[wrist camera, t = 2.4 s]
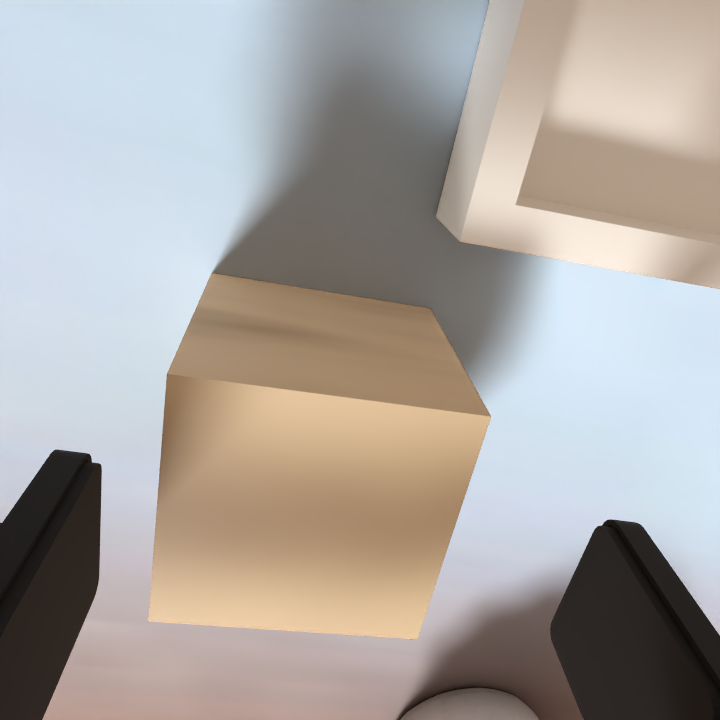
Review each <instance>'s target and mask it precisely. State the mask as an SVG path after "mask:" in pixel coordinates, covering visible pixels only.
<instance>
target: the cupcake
mask: <svg viewBox="0 0 720 720" xmlns="http://www.w3.org/2000/svg"><path fill="white" fill-rule="evenodd" d="M400 720H539V719H538V717H537V716H536V714H535V713H534V712H533V711H532V710H531V709H530V708H529V707H528V706H527V705H526V704H525V703H523V702H522V701H521V700H520V699H518V698H517V697H516V696H514V695H511V694H509V693H506V692H503V691H499V690H494V689H487V688H468V689H459V690H454V691H450V692H445V693H441V694H439V695H436V696H434V697H432V698H430V699H427V700H425V701H423V702H422V703H420V704H418V705H417V706H415V707H414V708H412V709H411V710H409V711H408V712H407V713H406V714H405V715H404V716H403V717H402V718H401V719H400Z"/></svg>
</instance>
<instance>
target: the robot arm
mask: <svg viewBox="0 0 720 720" xmlns="http://www.w3.org/2000/svg"><path fill="white" fill-rule="evenodd" d="M101 475H102V469H101V464H99V463H92V460H91V456H90V454H87V453H79V452H71V451H63V450H54V451H53V452H52V453H51V454H50V456H49V457H48V458H47V460H46V461H45V463H44V464H43V466H42V467H41V468H40V470H39V471H38V473H37V474H36V476H35V477H34V478H33V480H32V481H31V483H30V484H29V486H28V487H27V488H26V490H25V491H24V493H23V494H22V496H21V497H20V498H19V500H18V501H17V503H16V504H15V506H14V507H13V508H12V510H11V511H10V513H9V514H8V516H7V517H6V518H5V520H4V521H3V523H0V720H42V719H43V717H44V714H45V712H46V710H47V707H48V705H49V703H50V700H51V698H52V696H53V693H54V691H55V689H56V686H57V684H58V681H59V679H60V677H61V674H62V672H63V670H64V667H65V665H66V663H67V660H68V658H69V656H70V653H71V651H72V649H73V646H74V644H75V642H76V639H77V637H78V635H79V632H80V630H81V628H82V625H83V623H84V621H85V618H86V616H87V614H88V611H89V609H90V607H91V604H92V602H93V599H94V597H95V594H96V591H97V586H98V581H99V560H100V517H101ZM550 630H551V639H552V643H553V645H554V648H555V650H556V652H557V655H558V657H559V660H560V662H561V665H562V667H563V670H564V672H565V675H566V677H567V680H568V682H569V685H570V687H571V690H572V692H573V694H574V697H575V699H576V702H577V704H578V707H579V709H580V712H581V714H582V717H583V719H584V720H720V635H719V634H718V633H717V631H716V630H715V628H714V627H713V626H712V624H711V623H710V621H709V620H708V618H707V617H706V616H705V614H704V613H703V611H702V610H701V609H700V607H699V606H698V604H697V603H696V601H695V600H694V599H693V597H692V596H691V594H690V593H689V592H688V590H687V589H686V587H685V586H684V584H683V583H682V582H681V580H680V579H679V577H678V576H677V574H676V573H675V572H674V570H673V569H672V567H671V566H670V565H669V563H668V562H667V560H666V559H665V557H664V556H663V555H662V553H661V552H660V550H659V549H658V548H657V546H656V545H655V543H654V542H653V540H652V539H651V538H650V536H649V535H648V533H647V532H646V531H645V529H644V528H643V527H642V526H641V525H640V524H638V523H635V522H627V521H619V520H607V521H606V522H604V524H603V525H602V526H598V527H597V528H596V529H595V530H594V532H593V534H592V536H591V538H590V540H589V543H588V545H587V547H586V549H585V551H584V553H583V555H582V558H581V560H580V562H579V564H578V566H577V568H576V570H575V573H574V575H573V577H572V579H571V581H570V583H569V585H568V588H567V590H566V592H565V594H564V596H563V598H562V600H561V603H560V605H559V607H558V609H557V611H556V613H555V616H554V618H553V620H552V623H551V628H550Z"/></svg>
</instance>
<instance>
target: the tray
mask: <svg viewBox="0 0 720 720" xmlns="http://www.w3.org/2000/svg"><path fill="white" fill-rule="evenodd" d="M436 218H437V219H438V220H439V221H440V222H441V223H442V224H443V225H444V226H445V227H446V228H447V229H448V230H449V231H450V232H451V233H452V234H453V235H454V236H455V237H456V238H457V239H458V240H459V241H460V242H464V243H470V244H475V245H481V246H486V247H492V248H497V249H503V250H508V251H514V252H519V253H525V254H530V255H536V256H541V257H547V258H552V259H558V260H563V261H569V262H574V263H580V264H585V265H590V266H596V267H601V268H607V269H612V270H618V271H623V272H629V273H634V274H640V275H645V276H651V277H656V278H662V279H667V280H673V281H678V282H684V283H689V284H695V285H700V286H706V287H711V288H717V289H720V0H490V2H489V6H488V10H487V14H486V18H485V22H484V26H483V30H482V34H481V38H480V42H479V46H478V50H477V54H476V58H475V62H474V66H473V70H472V74H471V78H470V82H469V86H468V90H467V94H466V98H465V102H464V106H463V110H462V114H461V118H460V122H459V126H458V130H457V134H456V138H455V142H454V146H453V150H452V154H451V158H450V162H449V166H448V170H447V174H446V178H445V182H444V186H443V190H442V194H441V198H440V202H439V206H438V210H437V214H436Z"/></svg>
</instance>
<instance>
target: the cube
mask: <svg viewBox="0 0 720 720" xmlns="http://www.w3.org/2000/svg"><path fill="white" fill-rule="evenodd" d="M490 419H491V415H490V414H489V412H488V410H487V408H486V407H485V405H484V403H483V401H482V399H481V398H480V396H479V394H478V392H477V390H476V389H475V387H474V385H473V383H472V382H471V380H470V378H469V376H468V374H467V373H466V371H465V369H464V367H463V366H462V364H461V362H460V360H459V358H458V357H457V355H456V353H455V351H454V349H453V348H452V346H451V344H450V342H449V341H448V339H447V337H446V335H445V333H444V332H443V330H442V328H441V326H440V324H439V323H438V321H437V319H436V317H435V316H434V314H433V312H432V310H431V308H425V307H419V306H413V305H407V304H401V303H394V302H388V301H382V300H376V299H370V298H363V297H357V296H351V295H345V294H339V293H332V292H326V291H320V290H314V289H308V288H301V287H295V286H289V285H283V284H277V283H270V282H264V281H258V280H252V279H246V278H239V277H233V276H227V275H221V274H215V273H212V274H211V276H210V278H209V280H208V283H207V285H206V287H205V289H204V292H203V294H202V296H201V298H200V301H199V303H198V305H197V307H196V310H195V312H194V314H193V316H192V319H191V321H190V323H189V325H188V328H187V330H186V332H185V335H184V337H183V339H182V341H181V344H180V346H179V348H178V350H177V353H176V355H175V357H174V359H173V362H172V364H171V366H170V368H169V371H168V373H167V381H166V395H165V408H164V421H163V434H162V448H161V461H160V474H159V487H158V501H157V514H156V527H155V540H154V554H153V567H152V580H151V593H150V607H149V620H148V621H149V622H164V623H180V624H195V625H210V626H225V627H240V628H255V629H270V630H285V631H300V632H315V633H330V634H345V635H360V636H375V637H390V638H405V639H418V636H419V633H420V630H421V627H422V624H423V621H424V618H425V615H426V612H427V609H428V606H429V603H430V600H431V597H432V594H433V591H434V588H435V585H436V582H437V579H438V576H439V573H440V570H441V567H442V564H443V561H444V558H445V554H446V551H447V548H448V545H449V542H450V539H451V536H452V533H453V530H454V527H455V524H456V521H457V518H458V515H459V512H460V509H461V506H462V503H463V500H464V497H465V494H466V491H467V488H468V485H469V482H470V479H471V476H472V473H473V470H474V467H475V464H476V461H477V458H478V455H479V452H480V449H481V446H482V443H483V440H484V437H485V434H486V431H487V428H488V425H489V422H490Z"/></svg>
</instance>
